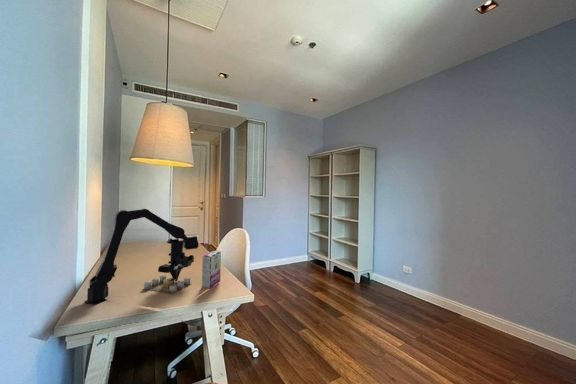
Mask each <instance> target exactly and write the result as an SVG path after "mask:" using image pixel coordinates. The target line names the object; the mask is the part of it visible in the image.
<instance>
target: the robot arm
mask: <svg viewBox="0 0 576 384" xmlns="http://www.w3.org/2000/svg"><path fill="white" fill-rule="evenodd" d="M114 216H115V217H114V226H113V231H112V234H111V237H110V241H109V243H108V246H107V249H106V252H105V255H104V258H103V260H102V262H101V263H100V265H99V266H98V269H96V270H97V271H96V273H95V275H94V276H93V277H91V278H90V279H89V280H88V282H89V285H88V288H87V295H86V297H87V300H84V304H88V305H89V304H90V305H99V304H101V303H102V302H105V301H107V300H108V299H107V298H108V297H109V286H108V283H109V282H111V281H112V279H113V278H115V277H116V276H115V273H116V271H117V269H118V266H117V264H115V260H116V258H117V254H118V251H119V247H120V244H121V242H122V238H123V235H124V232H125V231H126V229H127V228H128V226H129V225H130V223H131V221H134V220H138V219H142V218H145V219H146V220H148V221H149V222H152V223H153V224H155V225H156V226H158V227H160V228H162V229H163V230H165V231H166V232H167V234H169V235H170V236H171V237H172V238H169V239H168V240H167V241H166V243H167V244H168V245H169V244H170V252H169V253H168V256H170V257H169V258H170V260H168V262H167V263H163V264H162V265H159V267H157V271H158V273H164V274H170V275H171V278H174V279H175V281H176V282H178V279H179V276H180V275H181V272H182V270H183V269H184V268H188V267H191V266H192V263H194V261H195V257H194V256H195V255H193V254H190V255H186V253H185V251H184V250H183V249H185V250H186V251H187V250H188V251H189V250H197V249H198V248H199V240H198V236H197V235H194V236H187V235H186V234H185V229H184V228H183V227H180V226H177V225H175V224H172V223H169V222H168V221H167V220H165V219H164V218H161V217H160V216H158V215H157V214H155V213H153V211H150V209H147V208H141V209H135V210H134V209H133V210H126V209H122V210H121V209H120V210H119V211H117V212H116V213H115V215H114ZM173 238H174V239H173ZM180 239H181V240H180Z"/></svg>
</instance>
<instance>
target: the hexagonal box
mask: <svg viewBox="0 0 576 384" xmlns="http://www.w3.org/2000/svg"><path fill="white" fill-rule="evenodd" d="M174 284H175V279H174V278H173V277H169V278H166V279H164V281H163V288H170V285H174Z"/></svg>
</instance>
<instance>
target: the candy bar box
mask: <svg viewBox="0 0 576 384" xmlns="http://www.w3.org/2000/svg"><path fill="white" fill-rule="evenodd" d="M221 255H222V251H221V250H220V251H219V250H212V251H210V252H207V253H206V254H204V255H202V263H201V264H202V267H201V268H202V269H201V271H202V274H201V275H202V276H201V279H202V280H201V281H202V282H201V287H203V288H208V289H212V288H213V287H214V286H216V285H217V284H218V283H219V282H220V281H221V262H222V261H221Z"/></svg>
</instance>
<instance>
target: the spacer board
mask: <svg viewBox="0 0 576 384" xmlns="http://www.w3.org/2000/svg"><path fill="white" fill-rule="evenodd" d="M164 279H167V275H165V274H163V275H160V276H159V277H158V278H155V277H154V278H152V279H151V281H150V280H149V281H145V282H144V285H143V287H144V288H142V289H141V290H143V291H149V292H154V293H155V292H156V293H161V294H162V293H163V294H168V295H176V294H177V293H179V292H181V291H182V290H185V289H186V288H188V287H189V286H191V285H192V283H191V277H184V278H183V280H179V281H178V280H177V281H175V284H174V285H170V288H163V281H164Z"/></svg>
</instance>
